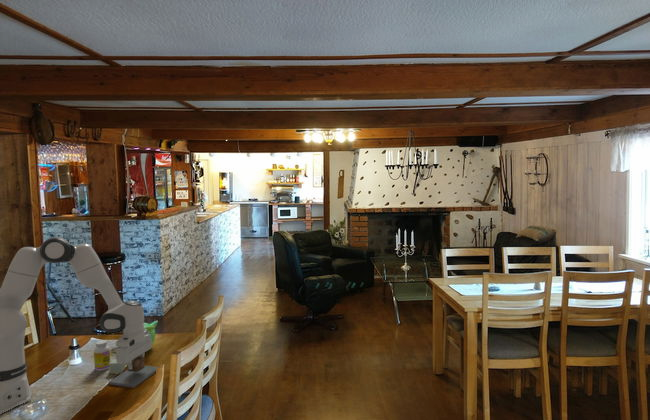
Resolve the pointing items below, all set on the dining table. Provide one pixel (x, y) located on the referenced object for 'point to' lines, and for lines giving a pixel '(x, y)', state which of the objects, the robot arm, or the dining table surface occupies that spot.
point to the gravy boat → (151, 329)
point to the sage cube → (115, 367)
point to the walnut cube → (137, 364)
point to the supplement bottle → (101, 356)
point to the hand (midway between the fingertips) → (135, 365)
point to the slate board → (133, 377)
